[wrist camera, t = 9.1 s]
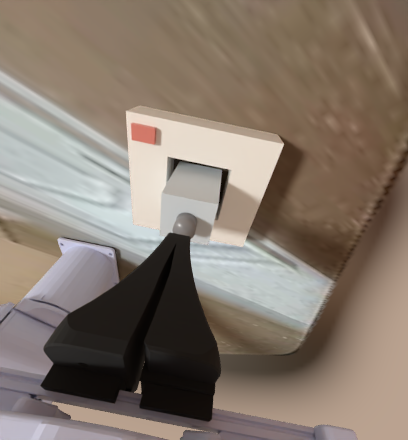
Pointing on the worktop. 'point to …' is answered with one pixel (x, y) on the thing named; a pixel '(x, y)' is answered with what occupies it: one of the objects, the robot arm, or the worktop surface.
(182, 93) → the worktop surface
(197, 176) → the plug
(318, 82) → the worktop surface
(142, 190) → the socket box
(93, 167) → the worktop surface
